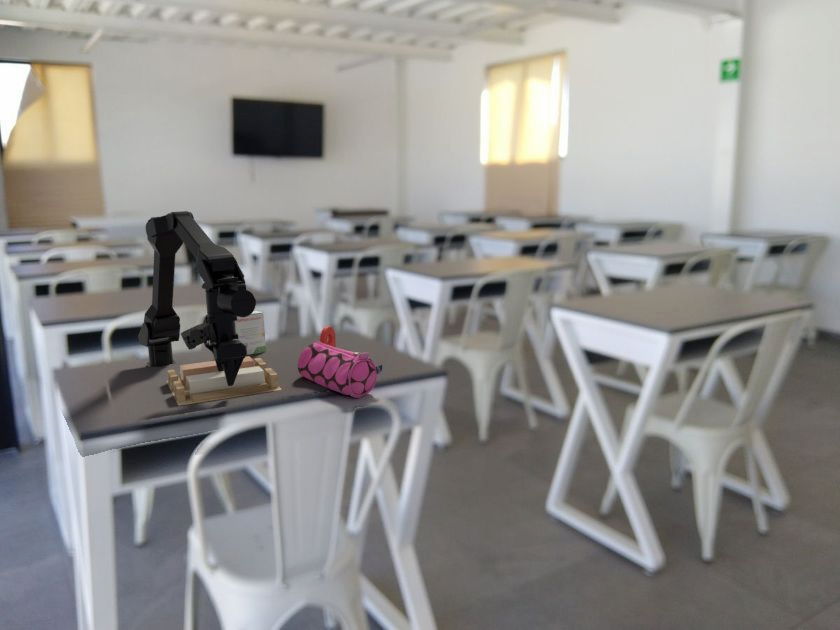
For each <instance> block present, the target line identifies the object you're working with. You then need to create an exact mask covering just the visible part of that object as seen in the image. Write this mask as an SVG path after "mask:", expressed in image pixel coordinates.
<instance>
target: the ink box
mask: <svg viewBox="0 0 840 630" xmlns="http://www.w3.org/2000/svg"><path fill="white" fill-rule="evenodd" d="M235 324H236V333H237V334H238V339H234V340H239V341H241V342H242V343H243V344H244V345H245V346H246V348H247V355H246V356H250V355H253V354H260V353H266V352H267V346H266V344H267V342H266V330H265V315H264V312H262V311H259V310H254V311H253V312H252V313H251V314H250V315H249V316H247V317H238V316H237V321H235Z"/></svg>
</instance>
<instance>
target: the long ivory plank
mask: <svg viewBox="0 0 840 630" xmlns="http://www.w3.org/2000/svg"><path fill="white" fill-rule="evenodd" d="M186 382H187V393H188V395H189V397H190V399H192V395H191V394H195V393H202V392H209V391H215V390H222V389H229V388H236V387H242V386H249V385H256V384H262V383H265V381H264V371H263V370H262V369H261V368H260V367H259V366H256V367H255V366H254V367H249V368H242V369H239V371H238V374H237V376H236V379H235V382H234V384H233V385H232V386H228V385H227V381H226V377H225V373H224V371H220V372H213V373H206V374H198V375H191V376H186Z"/></svg>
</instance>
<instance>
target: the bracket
mask: <svg viewBox="0 0 840 630" xmlns="http://www.w3.org/2000/svg"><path fill="white" fill-rule="evenodd" d="M335 332H336V331H335V329H334V328H333V327H332V326H324V327H323V329H322V330H321V333H320V337H319V342H321V343H323V344H326V345H329V346H332V347H336V348H337V346H336V345H337V344H336V343H337V342H336V339H337V338H336V333H335Z"/></svg>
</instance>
